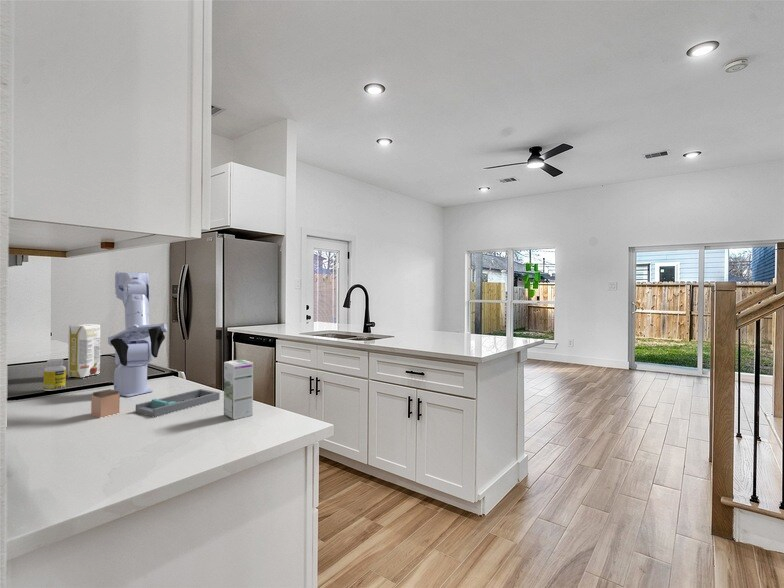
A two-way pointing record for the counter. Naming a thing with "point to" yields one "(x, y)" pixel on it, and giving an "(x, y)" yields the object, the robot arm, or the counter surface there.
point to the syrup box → (238, 389)
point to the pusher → (160, 403)
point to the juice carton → (84, 350)
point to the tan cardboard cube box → (105, 403)
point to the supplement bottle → (54, 374)
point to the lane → (205, 397)
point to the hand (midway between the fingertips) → (139, 360)
